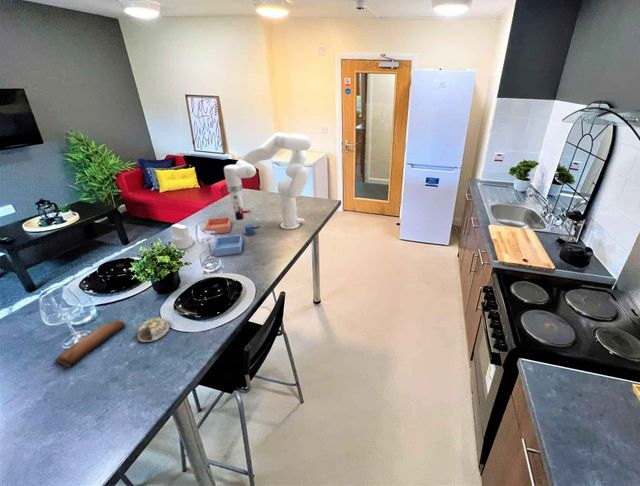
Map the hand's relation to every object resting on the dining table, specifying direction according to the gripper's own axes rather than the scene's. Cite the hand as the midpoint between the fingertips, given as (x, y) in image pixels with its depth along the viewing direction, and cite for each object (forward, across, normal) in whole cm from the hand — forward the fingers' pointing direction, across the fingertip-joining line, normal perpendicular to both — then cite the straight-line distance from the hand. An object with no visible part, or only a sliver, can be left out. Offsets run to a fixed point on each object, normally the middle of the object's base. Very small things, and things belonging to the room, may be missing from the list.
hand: (239, 217), depth 165 cm
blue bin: (+15, -7, +7) cm, 18 cm away
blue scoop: (+15, +9, -5) cm, 18 cm away
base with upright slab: (+16, +4, +32) cm, 36 cm away
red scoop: (0, 0, -2) cm, 2 cm away
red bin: (+15, +20, +16) cm, 30 cm away
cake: (+16, -63, +29) cm, 71 cm away
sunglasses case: (+16, -62, +48) cm, 80 cm away
